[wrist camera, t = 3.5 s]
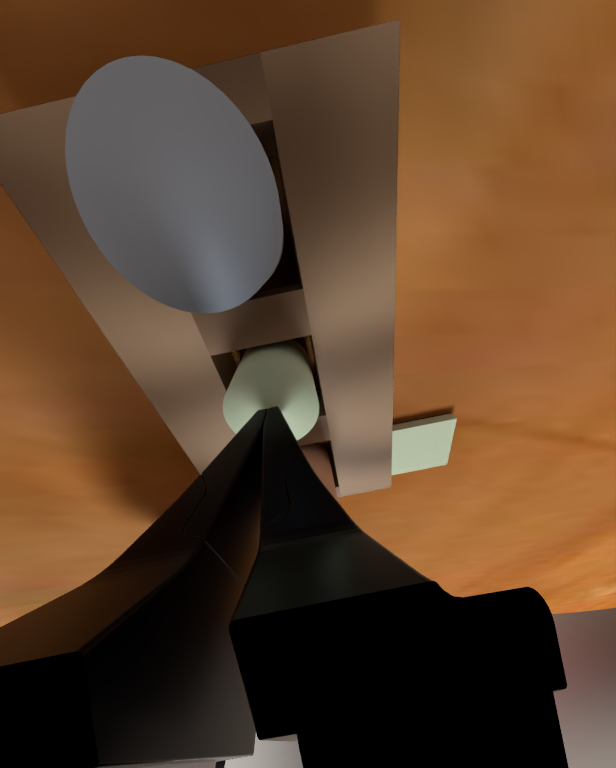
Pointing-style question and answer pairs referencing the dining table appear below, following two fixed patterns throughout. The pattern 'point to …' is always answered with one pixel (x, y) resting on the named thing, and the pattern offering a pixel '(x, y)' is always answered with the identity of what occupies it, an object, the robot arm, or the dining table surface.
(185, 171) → the grey rounded piece
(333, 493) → the terracotta button
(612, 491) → the dining table surface
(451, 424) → the chip
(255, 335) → the button board
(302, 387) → the sage button
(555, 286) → the dining table surface
